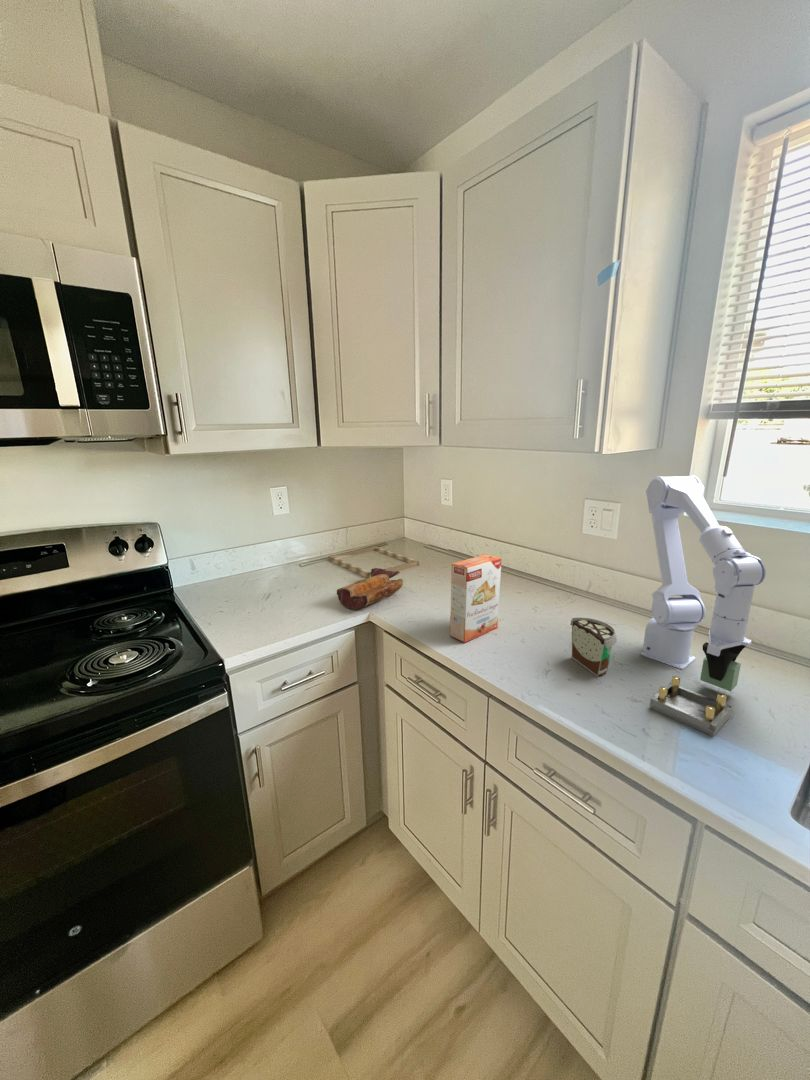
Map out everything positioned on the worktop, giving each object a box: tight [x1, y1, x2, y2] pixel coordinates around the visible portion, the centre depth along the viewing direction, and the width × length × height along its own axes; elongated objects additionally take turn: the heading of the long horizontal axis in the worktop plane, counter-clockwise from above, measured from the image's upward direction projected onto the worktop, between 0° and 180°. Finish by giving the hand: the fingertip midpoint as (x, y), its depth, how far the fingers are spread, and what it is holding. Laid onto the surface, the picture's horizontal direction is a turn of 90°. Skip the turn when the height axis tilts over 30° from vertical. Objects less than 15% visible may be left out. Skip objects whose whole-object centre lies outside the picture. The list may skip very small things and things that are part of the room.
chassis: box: [649, 675, 733, 737], centre depth 86 cm, size 11×9×4 cm
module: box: [699, 656, 742, 692], centre depth 92 cm, size 6×4×6 cm, turn 38°
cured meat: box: [336, 567, 404, 611], centre depth 147 cm, size 18×25×7 cm
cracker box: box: [449, 553, 503, 644], centre depth 119 cm, size 14×6×21 cm, turn 130°
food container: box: [569, 617, 617, 678], centre depth 103 cm, size 12×6×10 cm, turn 17°
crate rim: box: [328, 546, 420, 579], centre depth 183 cm, size 31×24×3 cm
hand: (719, 675), depth 92 cm, fingers closed on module, 4 cm apart
